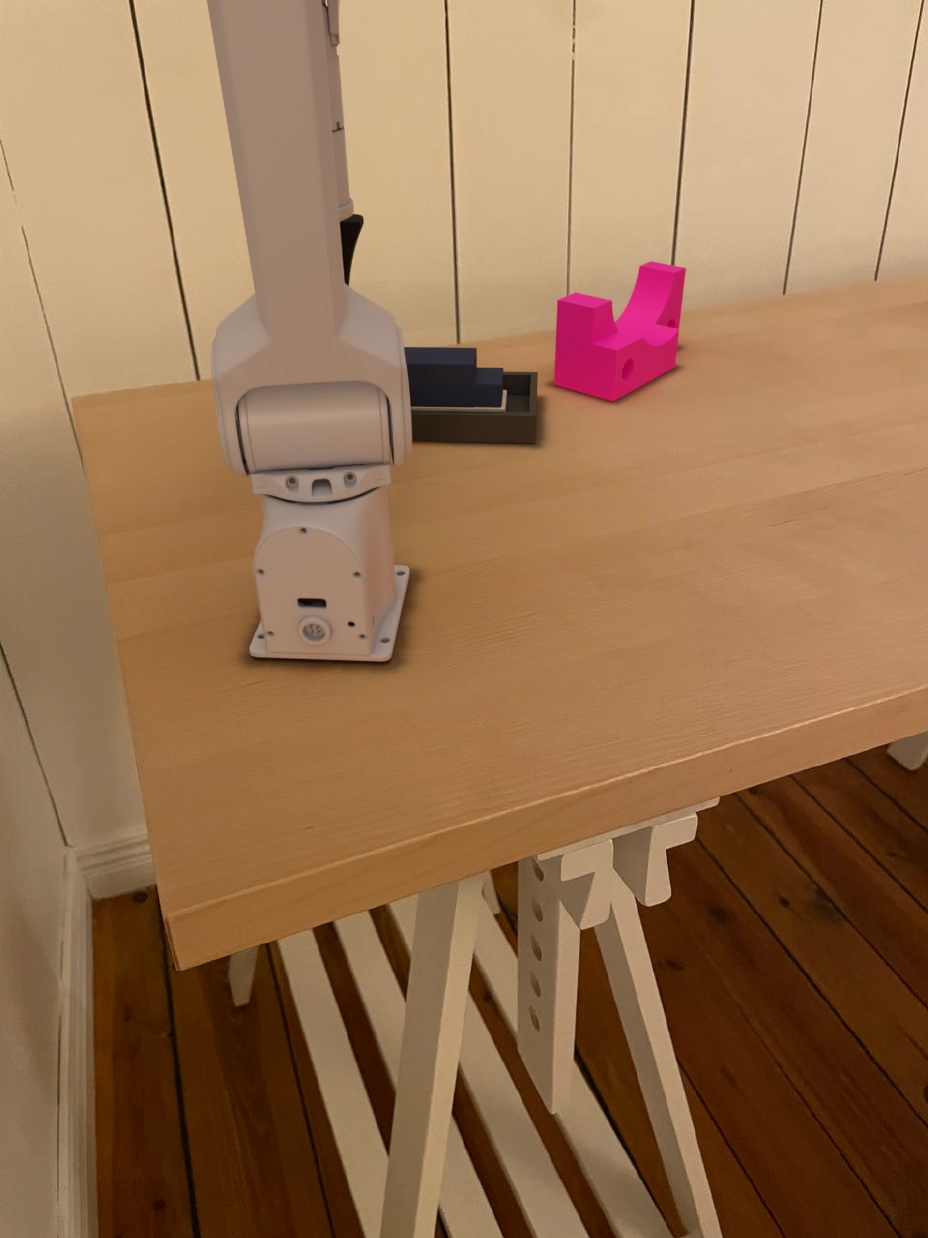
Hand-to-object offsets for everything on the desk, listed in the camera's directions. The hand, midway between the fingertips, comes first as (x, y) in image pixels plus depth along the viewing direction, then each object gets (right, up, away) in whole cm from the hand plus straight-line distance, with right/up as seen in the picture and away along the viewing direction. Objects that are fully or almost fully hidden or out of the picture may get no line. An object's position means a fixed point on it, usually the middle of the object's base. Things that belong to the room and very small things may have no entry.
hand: (320, 338), depth 70 cm
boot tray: (+9, -3, +11) cm, 15 cm away
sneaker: (+9, -3, +11) cm, 14 cm away
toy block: (+25, +3, +20) cm, 33 cm away
